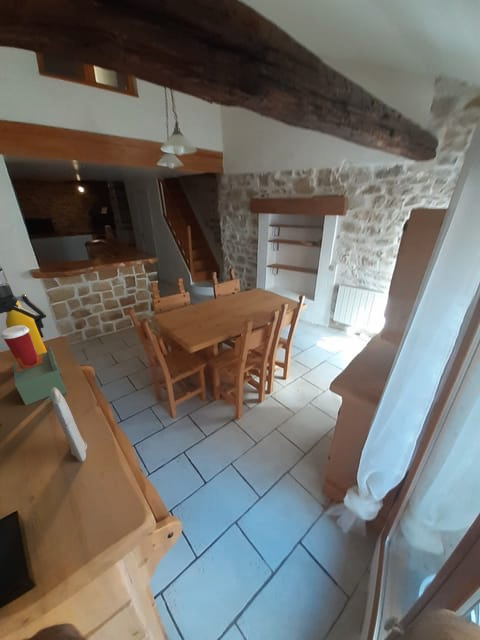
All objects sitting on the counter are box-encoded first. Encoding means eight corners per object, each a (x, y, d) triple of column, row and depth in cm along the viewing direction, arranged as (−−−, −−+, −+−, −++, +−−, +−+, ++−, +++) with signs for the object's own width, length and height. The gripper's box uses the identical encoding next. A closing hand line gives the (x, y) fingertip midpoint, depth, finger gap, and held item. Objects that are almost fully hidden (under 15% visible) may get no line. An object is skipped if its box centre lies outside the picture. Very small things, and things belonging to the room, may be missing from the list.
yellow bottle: (49, 357, 115) (25, 298, 102) (24, 365, 109) (-6, 305, 96) (45, 349, 121) (22, 292, 108) (21, 356, 115) (-7, 298, 102)
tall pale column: (91, 458, 72) (67, 401, 62) (75, 467, 70) (47, 409, 60) (83, 433, 79) (61, 379, 69) (68, 441, 77) (42, 385, 67)
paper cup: (45, 355, 97) (32, 323, 91) (35, 367, 91) (19, 334, 84) (23, 357, 96) (8, 325, 90) (10, 370, 89) (-7, 336, 83)
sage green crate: (27, 408, 88) (12, 379, 82) (24, 384, 99) (11, 357, 93) (67, 393, 95) (55, 365, 89) (60, 372, 106) (50, 346, 100)
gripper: (-68, 297, 70) (-32, 359, 79) (42, 280, 84) (61, 335, 94) (-63, 290, 75) (-30, 349, 85) (40, 275, 89) (58, 327, 99)
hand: (18, 342), depth 89 cm, fingers open, 13 cm apart
